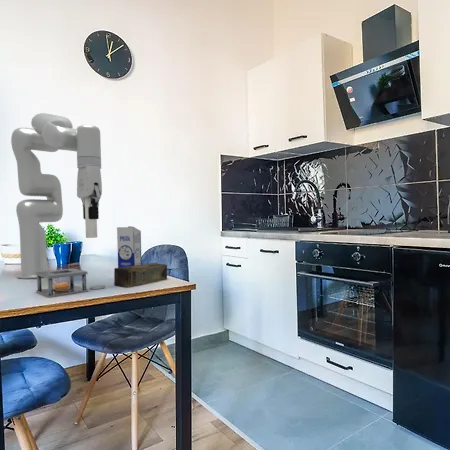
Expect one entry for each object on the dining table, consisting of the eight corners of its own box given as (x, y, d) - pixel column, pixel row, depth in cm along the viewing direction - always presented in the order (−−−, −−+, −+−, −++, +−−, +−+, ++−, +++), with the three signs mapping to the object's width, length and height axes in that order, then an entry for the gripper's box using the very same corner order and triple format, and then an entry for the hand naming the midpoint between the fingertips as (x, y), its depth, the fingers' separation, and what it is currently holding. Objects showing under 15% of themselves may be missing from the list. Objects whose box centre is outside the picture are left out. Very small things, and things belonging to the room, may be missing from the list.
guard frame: (36, 292, 123) (35, 272, 123) (73, 286, 131) (72, 268, 131) (49, 297, 114) (48, 276, 114) (88, 291, 122) (87, 271, 122)
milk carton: (117, 278, 148) (116, 226, 147) (126, 275, 154) (125, 226, 154) (134, 278, 146) (133, 226, 146) (142, 275, 153) (141, 225, 152)
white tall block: (84, 237, 126) (82, 189, 126) (94, 237, 129) (93, 189, 128) (88, 237, 124) (86, 188, 123) (99, 237, 126) (97, 189, 126)
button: (52, 289, 122) (52, 283, 122) (66, 287, 125) (66, 281, 125) (57, 291, 119) (57, 284, 119) (71, 289, 122) (71, 283, 122)
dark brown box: (168, 280, 142) (168, 262, 142) (127, 288, 127) (127, 269, 127) (154, 278, 147) (153, 261, 147) (112, 286, 132) (112, 267, 132)
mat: (86, 288, 127) (86, 287, 127) (101, 286, 131) (101, 285, 131) (93, 290, 124) (93, 289, 124) (107, 288, 127) (107, 286, 127)
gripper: (68, 165, 129) (70, 219, 130) (88, 159, 117) (90, 219, 117) (90, 167, 134) (91, 219, 135) (111, 161, 122) (112, 218, 122)
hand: (91, 218), depth 126 cm, fingers closed on white tall block, 3 cm apart
